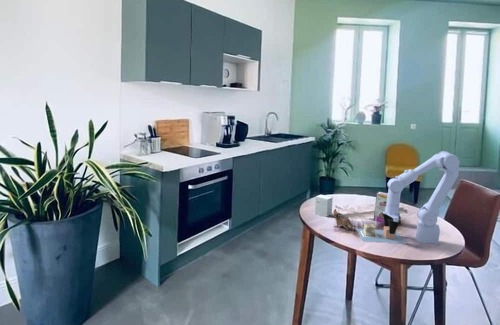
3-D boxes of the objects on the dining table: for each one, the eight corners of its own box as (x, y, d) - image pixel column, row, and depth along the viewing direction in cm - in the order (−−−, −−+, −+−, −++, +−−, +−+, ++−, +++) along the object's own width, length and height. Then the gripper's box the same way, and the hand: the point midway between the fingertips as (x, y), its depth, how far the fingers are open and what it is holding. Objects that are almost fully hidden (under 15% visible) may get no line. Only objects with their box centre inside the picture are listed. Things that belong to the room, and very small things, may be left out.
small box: (331, 215, 206) (333, 197, 204) (326, 217, 202) (328, 199, 200) (319, 211, 211) (320, 194, 209) (314, 213, 207) (315, 196, 205)
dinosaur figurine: (327, 226, 188) (328, 209, 186) (332, 224, 192) (334, 207, 190) (351, 234, 179) (353, 216, 177) (356, 231, 183) (358, 213, 182)
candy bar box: (372, 222, 197) (376, 193, 193) (375, 219, 201) (378, 191, 197) (394, 227, 191) (398, 197, 187) (396, 224, 195) (400, 195, 192)
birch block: (372, 232, 180) (373, 224, 179) (374, 236, 176) (375, 227, 175) (363, 232, 180) (364, 223, 179) (365, 235, 176) (366, 227, 175)
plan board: (395, 232, 184) (395, 230, 184) (406, 245, 168) (406, 243, 168) (355, 229, 185) (355, 228, 185) (362, 242, 170) (362, 241, 169)
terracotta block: (392, 235, 177) (393, 226, 176) (395, 239, 173) (396, 230, 172) (382, 234, 178) (383, 226, 177) (385, 238, 173) (386, 229, 172)
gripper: (380, 198, 179) (377, 224, 182) (388, 208, 165) (385, 236, 168) (394, 199, 179) (391, 225, 182) (404, 209, 165) (401, 237, 167)
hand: (389, 230), depth 175 cm, fingers open, 7 cm apart
